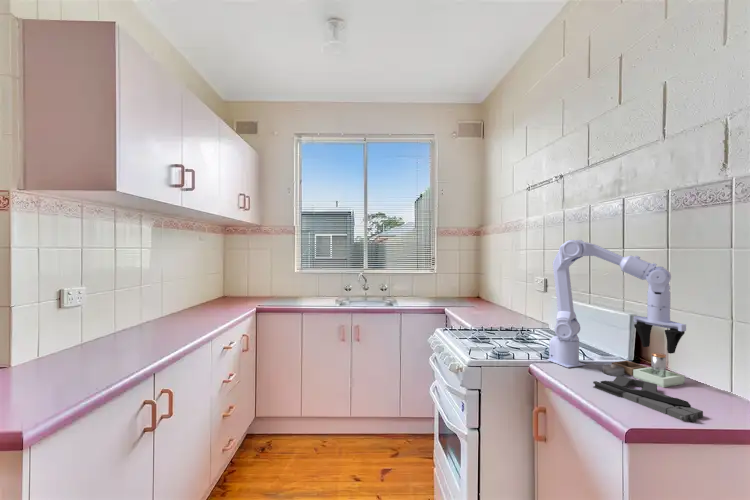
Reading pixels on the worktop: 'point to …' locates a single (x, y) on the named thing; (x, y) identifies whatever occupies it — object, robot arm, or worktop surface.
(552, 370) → the worktop surface
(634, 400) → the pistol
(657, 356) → the glass jar
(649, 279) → the robot arm
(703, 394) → the worktop surface
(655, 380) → the tray
